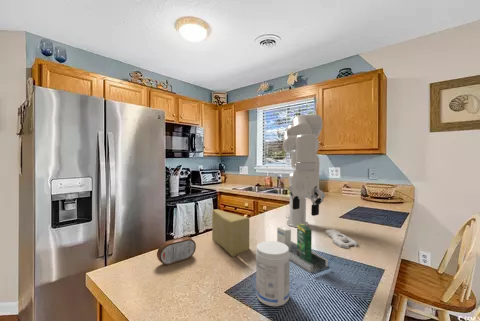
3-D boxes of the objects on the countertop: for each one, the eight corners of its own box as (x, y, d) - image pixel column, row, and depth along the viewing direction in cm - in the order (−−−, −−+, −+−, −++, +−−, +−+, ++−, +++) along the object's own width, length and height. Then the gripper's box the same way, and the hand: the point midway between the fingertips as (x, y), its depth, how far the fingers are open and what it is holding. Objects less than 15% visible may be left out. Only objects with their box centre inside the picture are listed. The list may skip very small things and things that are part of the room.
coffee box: (296, 255, 88) (296, 223, 87) (303, 255, 88) (303, 222, 88) (304, 265, 80) (304, 229, 79) (311, 265, 80) (312, 229, 80)
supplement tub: (276, 284, 70) (277, 238, 69) (296, 302, 61) (297, 250, 61) (249, 292, 65) (250, 243, 65) (267, 312, 57) (267, 256, 57)
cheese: (204, 241, 105) (204, 210, 104) (221, 236, 111) (221, 207, 111) (232, 258, 87) (232, 220, 87) (250, 251, 94) (250, 216, 93)
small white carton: (277, 247, 95) (277, 227, 95) (282, 246, 97) (283, 226, 97) (284, 252, 91) (284, 230, 91) (290, 250, 92) (290, 229, 92)
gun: (319, 228, 114) (336, 227, 116) (319, 234, 114) (336, 233, 116) (344, 244, 96) (363, 242, 99) (343, 251, 97) (362, 249, 99)
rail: (309, 275, 75) (309, 265, 75) (270, 251, 94) (270, 243, 94) (328, 268, 80) (328, 259, 80) (287, 246, 99) (288, 238, 99)
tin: (193, 254, 91) (193, 234, 90) (197, 256, 88) (197, 236, 88) (156, 265, 81) (156, 242, 81) (159, 268, 79) (159, 245, 79)
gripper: (283, 166, 88) (282, 208, 89) (317, 169, 73) (316, 219, 74) (296, 165, 92) (296, 205, 93) (331, 168, 77) (331, 216, 78)
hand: (305, 211), depth 83 cm, fingers open, 9 cm apart
